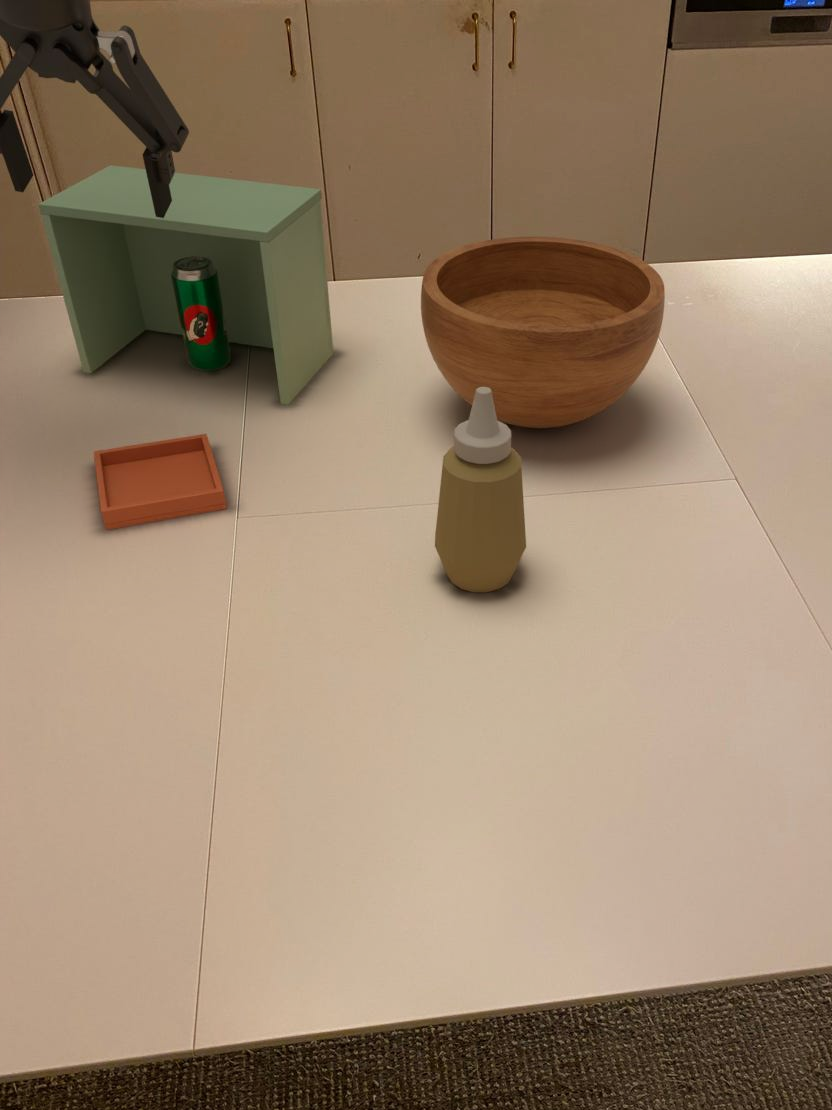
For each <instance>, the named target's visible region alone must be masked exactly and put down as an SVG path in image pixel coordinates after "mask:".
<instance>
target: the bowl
mask: <svg viewBox="0 0 832 1110" xmlns="http://www.w3.org/2000/svg"><path fill="white" fill-rule="evenodd" d="M665 293H666V291H665V284H664V280H663V278H662V277H661V275H660V274H659V273H658V272H657V270H656V269H655V268H653V266H651V265H650V264H648V263H647V262H646V261H644V260H642V259H641V258H639V257H637V256H634V255H633V254H630V253H629V252H626V251H623V250H621V249H618V248H614V247H611V246H608V245H604V244H601V243H597V242H591V241H586V240H582V239H581V240H580V239H573V238H565V237H553V236H512V237H500V238H494V239H487V240H482V241H476V242H472V243H470V244H465V245H462V246H458V247H456V248H454V249H451V250H449V251H447V252H445V253H443V254H441V255H440V256H438V257H437V258H435V259H434V260H433V261H431V263H430V264H428V266H427V267H426V269H425V270H424V273H423V275H422V280H421V290H420V315H421V322H422V323H421V324H422V328H423V333H424V336H425V337H424V338H425V340H426V344H427V347H428V349H429V352H430V355H431V357H432V359H433V361H434V363H435V365H436V367H437V369H438V370H439V371H440V374H441V375H442V376H443V378H444V379H445V381H446V382H447V383H448V385H450V387H451V388H452V389H453V390H454V391H455V392H456V393H457V394H458V395H459V396H460V397H461V398H462V399H463V400H464V401H465V402H466V403H468V404H469V405H470V406H472V405H473V401H474V397H475V393H476V389H477V388H479V387H488V388H490V389H491V392H492V397H493V402H494V407H495V411H496V416H497V421H500V422H502V423H504V424H509V425H513V426H516V427H522V428H530V429H551V428H558V427H565V426H569V425H572V424H576V423H579V422H582V421H584V420H586V419H589V418H591V417H593V416H595V415H597V414H599V413H600V412H602V411H603V410H605V409H606V408H608V407H610V406H611V405H613V404H614V403H615V402H616V401H617V400H619V399H621V397H622V396H623V395H624V394H626V392H627V391H628V390H629V389H630V388H631V387H632V386H633V385H634V383H635V382H636V381H637V380H638V378H639V377H640V376H641V374H642V373H643V371H644V370H645V368H646V366H647V365H648V363H649V361H650V359H651V357H652V355H653V353H654V350H655V348H656V345H657V343H658V340H659V337H660V334H661V330H662V325H663V320H664V315H665V313H664V312H665V297H666V296H665V295H666V294H665Z"/></svg>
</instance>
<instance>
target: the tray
mask: <svg viewBox="0 0 832 1110" xmlns="http://www.w3.org/2000/svg"><path fill="white" fill-rule="evenodd" d="M92 454H93V460H94V467H95V475H96V483H97V490H98V497H99V498H98V499H99V505H100V513H101V517H102V519H103V523H104V526H105V530H107V531H109V530H114V529H119V528H125V527H131V526H135V525H141V524H142V525H143V524H148V523H153V522H159V521H165V520H170V519H177V518H182V517H187V516H193V515H198V514H204V513H209V512H215V511H222V510H226V509H228V506H227V501H226V497H225V496H226V495H225V491H224V487H223V484H222V481H221V480H222V479H221V477H220V474H219V469H218V467H217V464H216V461H215V458H214V454H213V451H212V447H211V444H210V440H209V437H208V434H207V433H201V434H196V435H188V436H183V437H176V438H170V439H163V440H158V441H151V442H144V443H138V444H131V445H126V446H119V447H113V448H107V449H99V450H94V451H92Z"/></svg>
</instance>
